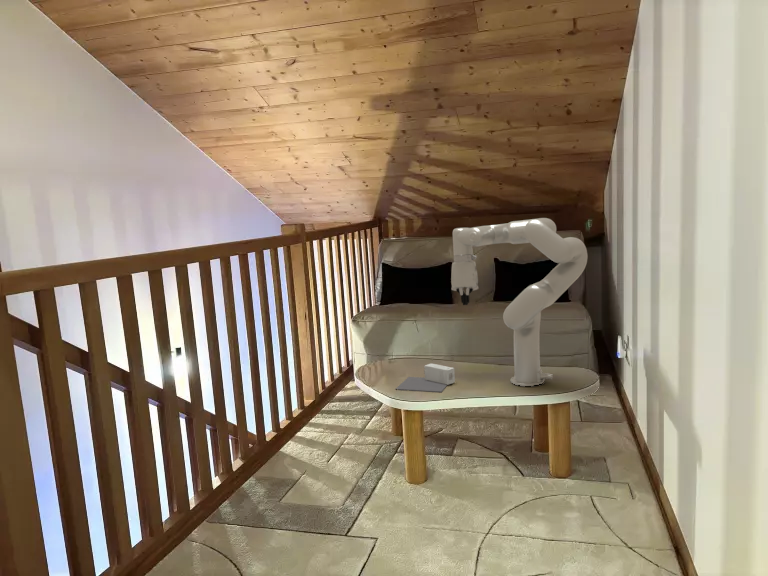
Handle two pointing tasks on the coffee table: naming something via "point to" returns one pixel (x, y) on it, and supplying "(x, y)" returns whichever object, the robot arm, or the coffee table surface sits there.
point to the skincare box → (439, 373)
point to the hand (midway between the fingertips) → (465, 304)
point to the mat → (421, 385)
